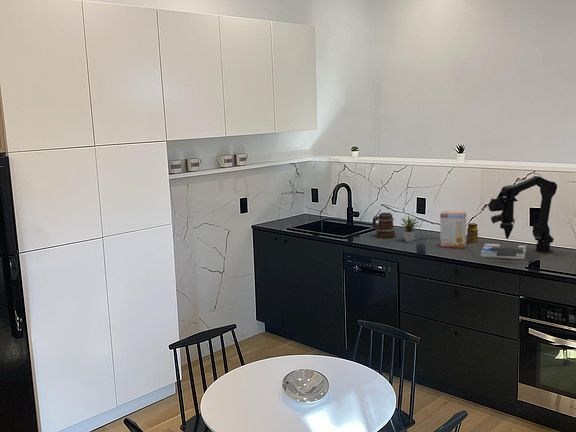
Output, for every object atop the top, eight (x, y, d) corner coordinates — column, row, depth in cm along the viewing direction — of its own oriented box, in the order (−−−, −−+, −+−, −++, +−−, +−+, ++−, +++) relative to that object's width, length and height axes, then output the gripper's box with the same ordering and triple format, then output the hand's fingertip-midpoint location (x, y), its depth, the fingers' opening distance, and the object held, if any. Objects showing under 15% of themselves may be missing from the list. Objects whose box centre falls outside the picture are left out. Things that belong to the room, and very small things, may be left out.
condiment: (480, 243, 355) (481, 223, 353) (471, 245, 351) (471, 226, 349) (470, 241, 361) (471, 222, 359) (461, 243, 357) (461, 224, 355)
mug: (398, 235, 386) (398, 212, 383) (389, 239, 376) (389, 216, 374) (376, 233, 395) (376, 211, 393) (367, 236, 386) (367, 214, 383)
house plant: (410, 244, 360) (410, 218, 357) (392, 241, 370) (392, 215, 367) (424, 240, 369) (424, 214, 366) (406, 237, 379) (406, 212, 376)
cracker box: (466, 246, 351) (466, 211, 347) (464, 248, 345) (465, 213, 341) (442, 244, 356) (442, 210, 353) (440, 247, 351) (440, 212, 347)
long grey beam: (522, 255, 322) (523, 247, 321) (522, 257, 318) (522, 249, 317) (491, 253, 328) (491, 246, 327) (491, 255, 324) (491, 248, 324)
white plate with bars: (526, 251, 334) (526, 243, 333) (524, 260, 314) (524, 252, 313) (484, 248, 343) (485, 241, 342) (480, 258, 323) (480, 250, 322)
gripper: (493, 206, 330) (492, 234, 333) (490, 212, 313) (489, 241, 316) (515, 207, 325) (514, 235, 328) (513, 213, 309) (512, 242, 312)
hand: (507, 238), depth 321 cm, fingers closed
